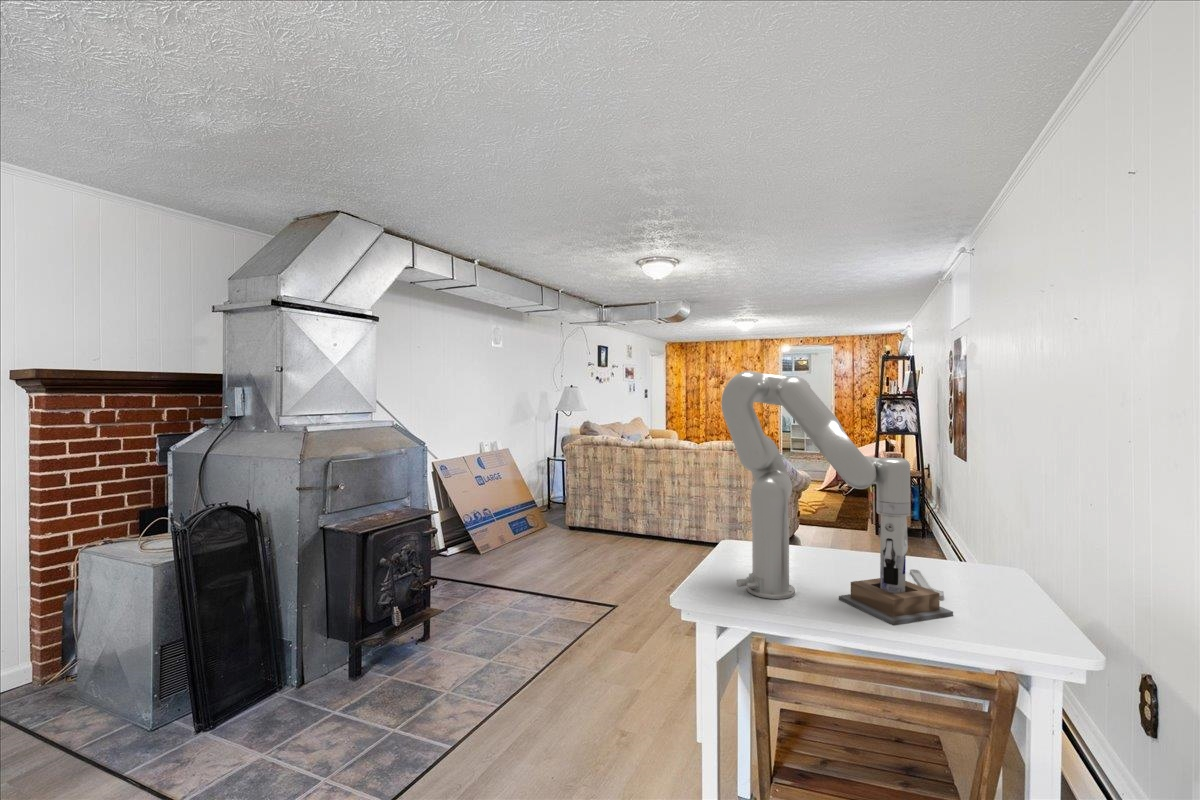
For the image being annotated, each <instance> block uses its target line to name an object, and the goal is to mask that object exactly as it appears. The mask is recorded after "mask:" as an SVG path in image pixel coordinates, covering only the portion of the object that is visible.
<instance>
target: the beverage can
mask: <svg viewBox="0 0 1200 800" xmlns="http://www.w3.org/2000/svg"><path fill="white" fill-rule="evenodd" d="M905 544H906V543H905ZM879 551H880V552H879V554H880V556H879V557H880V560H879V561H880V563H879V568H880V571H879V572H880V577H879V578H880V589H883V590H885V591H888V592H890V593H892V594H896V593H904V592H905V581H906V561H907V560H906V557H907V556H906V553H907V552H906V553H905V555H904V556H903V557H900V556H897V557H898V558H897V568H898V585H892V584H886V583H884V582H883V572H884V555H883V554H882V553H881V544H880V549H879ZM883 551H885V549H884V550H883ZM892 555H895V553H893V552H892ZM892 559H893V560H894V558H892Z"/></svg>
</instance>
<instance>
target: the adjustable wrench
mask: <svg viewBox="0 0 1200 800" xmlns="http://www.w3.org/2000/svg"><path fill="white" fill-rule="evenodd" d="M909 575H910V576H911V577H912V578H913V580H914V582H915V584H916V585H919V586H921V587H924V588H927V589H930V590H932V591H935V592H938V593H940V602H941V601H944V600H945V598H944V597H945V595H944V591H943V590H939V589H936V588H934V587H932V586H930V584H929V582H928V581H927V580H926V578H925V577H924V575H923V574H922V572H921V570H918V569H909Z"/></svg>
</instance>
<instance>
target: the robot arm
mask: <svg viewBox="0 0 1200 800" xmlns="http://www.w3.org/2000/svg"><path fill="white" fill-rule="evenodd" d="M754 403H760V404H765V405H774V406H780V407H781V406H782V407H783V408H784V410H785V411H786V412H787V413H788V414H789V415H790V417H792V419H793V420H794V421H795V422H796V424H797V425H798V426H799V427H800V428H801V430H803V432H804V434H806V436H807V437H808V438H809V440H810V441H811V442H812V444H813V445H814V446H815V447H816V448H817V449H818V451H819V452H820V453H821V454H822V456H823V457H824V458H825V460H827V463H829V465H830V466H831V467H832V468H833V469H834V471H836V473H837V474H838V475H839V476H840V478H842V480H843V481H844V482H845V483H846V484H847V485H848V486H850V487H851V488H853V489H857V490H865V489H868V488H870V487H872V485H874V484H875V486H876V514H878V515H880V545H881V553H882V554H883V555H884V572H883V582H884V583H886V584H892V585H898V568H897V558H898V557H897V556H900V557H903V556H904V555H905V553H907V552H908V549H909V548H908V546H909V545H908V543H909V542H908V520H907V519H908V518H907V517H910V516H911V464H910V461H908V459H905V458H901V457H882V458H879V457H873V456H867V455H866V456H865V454H863V452H862V451H860V449H859V447H857V446H856V445H855V443H854V442H853V440H851V439H850V437H849V436H848V435H847V433H846V431H845V430H844V427H843V426H842V424H841V422H840V420H838V418H837V416H836V415H835V414H834V413H833V411H831V410H830V409H829V407H828V406H827V405H826V404H825V403H824V401H822V399H821V398H820V397H819V396H818V394H816V392H815V391H814V390H813V389H812V388H811V385H810V383H809V382H808V381H807V380H805V379H804V378H803V377H799V376H794V375H792V376H789V375H787V376H786V375H777V374H772V373H771V374H770V373H769V374H768V373H764V372H763V373H762V372H756V371H752V370H745V371H744V370H743V371H741V372H739V373H737V374H735V375H734V376H733V377H732V378H731V379H730V380H729V381H728V382H727V384H726V385H725V387H724V389H723V392H722V395H721V413H722V415H723V418H724V421H725V423H726V427H727V428H728V432H729V434H730V438H731V440H732V443H733V445H734V447H735V450H736V453H737V456H738V459H739V461H740V464H741V465H742V467H744V468H745V469H746V470H748V471H750V472H751V475H752V477H753V480H754V482H753V484H752V486H751V489H750V508H751V531H752V532H751V534H752V550H751V551H752V553H751V554H752V555H751V556H752V563H751V564H752V565H751V566H752V567H751V568H752V573H748V576H747V577H746V578H739V579H736V582H735V583H736V586H737V587H738V588H740V587H746V590H747V592H748V593H749V594H751V595H753V596H755V597H759V598H764V599H769V600H770V599H771V600H772V599H773V600H781V599H782V600H784V599H789V598H792V597H793V596H795V595H796V588H795V587H794V586H793V585H791V584H790V532H789V531H790V520H789V519H790V518H789V499H790V497H791V496H792V493H793V484H792V480H791V478H790V477H791V476H790V475H789V473H788V469H787V467H786V465H785V462H784V460H783V458H782V457H783V456H782V455H781V453H780V450H779V448H778V446H777V444H776V443H775V441H774V440H773V439H771V438H770V437H769V436H767V435H765V433H764V431H763V428H762V426H761V422H760V419H759V417H758V415H757V413H756V411H755V408H754ZM905 543H906V544H905ZM884 549H885V551H883V550H884ZM892 552H893V553H895V555H892ZM892 558H894V560H893V559H892Z"/></svg>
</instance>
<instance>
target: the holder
mask: <svg viewBox="0 0 1200 800" xmlns="http://www.w3.org/2000/svg"><path fill="white" fill-rule="evenodd" d="M838 600H839V601H841V602H843V603H845V604H847V605H849V606H851V607H854V608H856V609H857V610H859V611H862V612H864V613H866V614H868V615H870V616H873V617H875V618H877V619H879V620H881V621H882V622H886V624H889V625H891V624H892V626H898V625H903V624H910V623H916V622H923V621H929V620H934V619H940V618H942V619H943V618H947V617H953V616H954V611H953V610H950V609H949V608H945V607H943V606H940V605H941V603H940V602H941V601H940V593H938V592H935V591H932V590H930V589H927V588H924V587H921V586H919V585H918V584H917V583H913V582H911V581H907V580H905V592H904V593H896V594H892V593H890V592H888V591H885V590H883V589H880V577H878V578H871V579H862V580H855V581H850V594H841V595H838Z"/></svg>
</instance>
